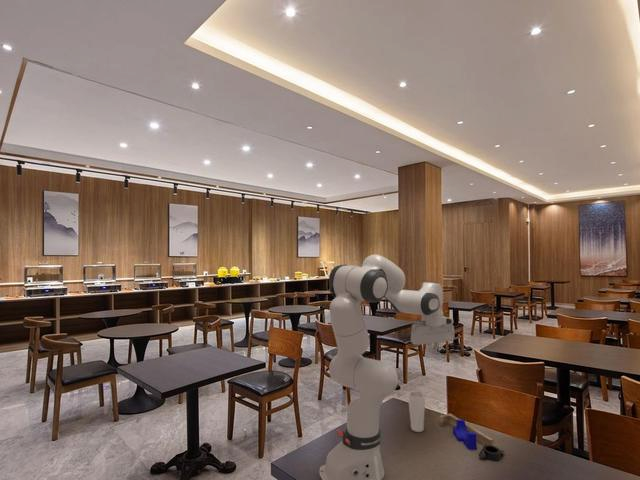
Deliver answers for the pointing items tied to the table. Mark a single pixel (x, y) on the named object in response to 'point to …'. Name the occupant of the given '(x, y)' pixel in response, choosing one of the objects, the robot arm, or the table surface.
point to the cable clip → (465, 435)
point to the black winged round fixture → (490, 453)
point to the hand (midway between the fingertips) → (433, 353)
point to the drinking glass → (417, 410)
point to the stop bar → (480, 436)
